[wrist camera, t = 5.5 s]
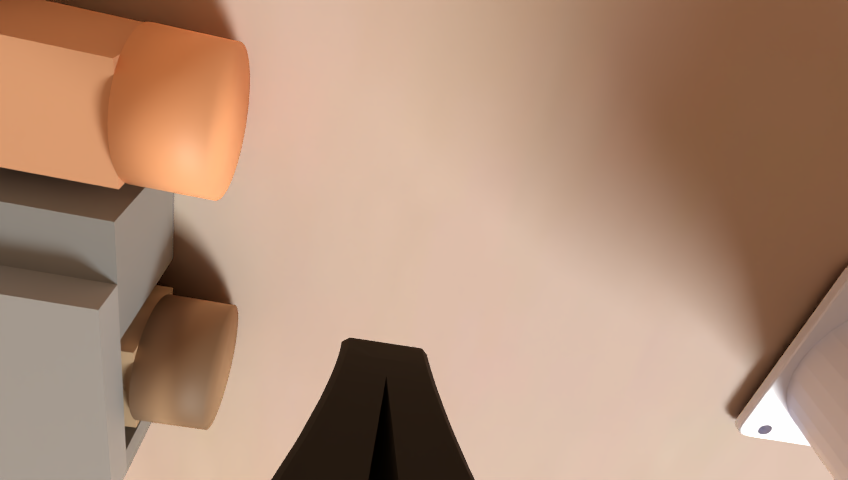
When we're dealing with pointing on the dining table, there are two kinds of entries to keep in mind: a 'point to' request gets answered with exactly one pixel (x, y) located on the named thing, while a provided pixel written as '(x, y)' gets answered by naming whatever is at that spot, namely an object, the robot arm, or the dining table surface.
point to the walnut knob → (177, 360)
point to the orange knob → (119, 100)
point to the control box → (72, 320)
